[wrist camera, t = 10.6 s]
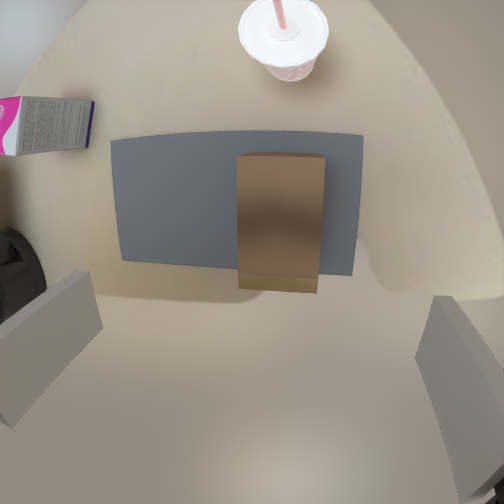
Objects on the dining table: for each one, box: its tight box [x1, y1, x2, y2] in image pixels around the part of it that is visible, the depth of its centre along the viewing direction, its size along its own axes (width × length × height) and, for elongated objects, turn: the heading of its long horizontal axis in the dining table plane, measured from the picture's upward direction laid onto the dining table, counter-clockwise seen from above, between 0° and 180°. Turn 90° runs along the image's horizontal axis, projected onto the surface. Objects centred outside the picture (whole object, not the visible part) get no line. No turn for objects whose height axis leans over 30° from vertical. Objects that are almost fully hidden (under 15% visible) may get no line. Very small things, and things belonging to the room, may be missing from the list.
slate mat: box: [111, 131, 363, 276], centre depth 30 cm, size 26×14×1 cm, turn 90°
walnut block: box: [236, 152, 325, 293], centre depth 25 cm, size 10×6×8 cm, turn 0°
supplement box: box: [0, 96, 94, 156], centre depth 25 cm, size 6×6×12 cm
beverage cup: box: [238, 0, 329, 82], centre depth 18 cm, size 6×6×14 cm
